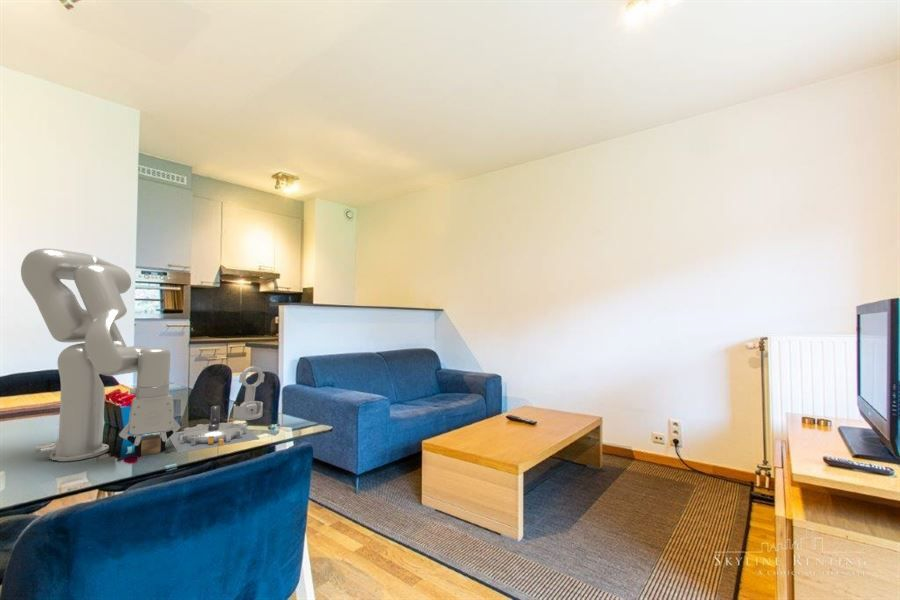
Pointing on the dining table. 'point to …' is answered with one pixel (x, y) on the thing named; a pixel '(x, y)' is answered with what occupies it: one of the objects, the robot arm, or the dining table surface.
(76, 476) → the dining table surface
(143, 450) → the link block
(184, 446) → the base plate
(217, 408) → the sprocket
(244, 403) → the engine component
